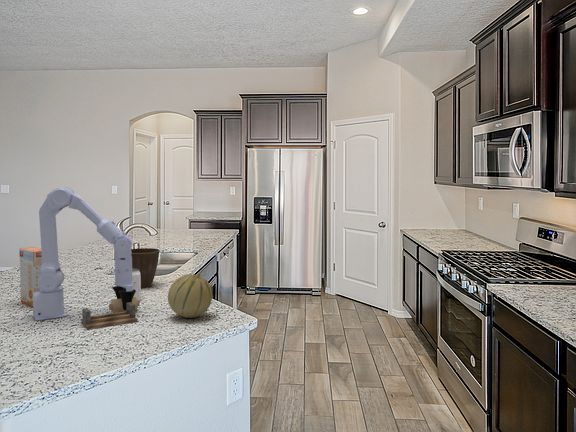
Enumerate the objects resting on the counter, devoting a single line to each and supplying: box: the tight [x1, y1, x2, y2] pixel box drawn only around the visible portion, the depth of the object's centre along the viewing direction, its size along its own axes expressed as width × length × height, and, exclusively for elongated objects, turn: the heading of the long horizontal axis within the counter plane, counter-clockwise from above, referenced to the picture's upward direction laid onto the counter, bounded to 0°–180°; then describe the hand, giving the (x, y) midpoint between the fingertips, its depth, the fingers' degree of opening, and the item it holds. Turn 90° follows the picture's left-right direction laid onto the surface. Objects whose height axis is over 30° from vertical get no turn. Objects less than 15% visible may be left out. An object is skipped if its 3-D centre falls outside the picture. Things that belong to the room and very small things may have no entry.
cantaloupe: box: [167, 273, 213, 319], centre depth 164 cm, size 15×15×15 cm
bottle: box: [108, 297, 140, 313], centre depth 170 cm, size 10×5×5 cm, turn 124°
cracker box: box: [18, 246, 42, 308], centre depth 180 cm, size 14×6×21 cm, turn 47°
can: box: [132, 269, 142, 302], centre depth 186 cm, size 6×6×12 cm
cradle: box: [80, 302, 139, 330], centre depth 158 cm, size 16×10×5 cm, turn 124°
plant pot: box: [131, 247, 160, 289], centre depth 211 cm, size 15×15×16 cm
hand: (124, 307), depth 170 cm, fingers open, 6 cm apart
